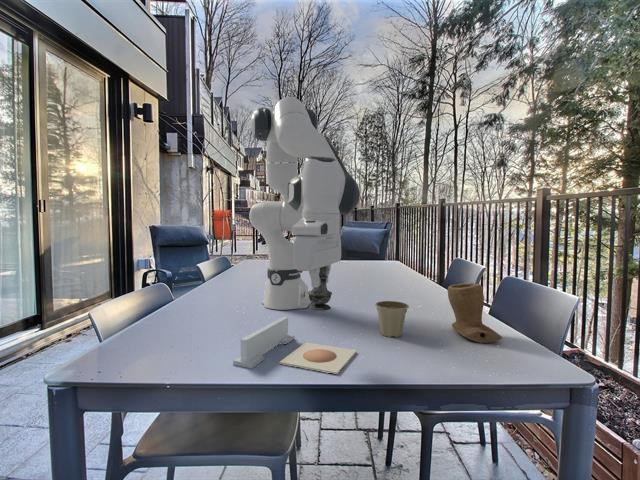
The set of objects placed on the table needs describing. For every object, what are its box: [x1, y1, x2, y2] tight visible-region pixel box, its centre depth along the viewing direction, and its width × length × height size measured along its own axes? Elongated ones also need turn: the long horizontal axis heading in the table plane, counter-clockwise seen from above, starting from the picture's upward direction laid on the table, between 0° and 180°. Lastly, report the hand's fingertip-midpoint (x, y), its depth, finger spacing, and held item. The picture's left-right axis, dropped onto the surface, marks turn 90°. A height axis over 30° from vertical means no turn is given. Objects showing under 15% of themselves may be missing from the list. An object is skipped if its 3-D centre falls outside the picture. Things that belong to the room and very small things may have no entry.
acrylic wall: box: [232, 316, 295, 370], centre depth 91 cm, size 21×5×6 cm, turn 157°
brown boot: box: [447, 282, 503, 344], centre depth 104 cm, size 15×12×15 cm
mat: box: [279, 341, 357, 375], centre depth 87 cm, size 14×14×1 cm
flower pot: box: [375, 300, 409, 338], centre depth 105 cm, size 9×9×9 cm
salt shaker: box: [307, 266, 333, 312], centre depth 85 cm, size 6×6×12 cm
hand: (320, 285), depth 85 cm, fingers closed on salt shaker, 3 cm apart
